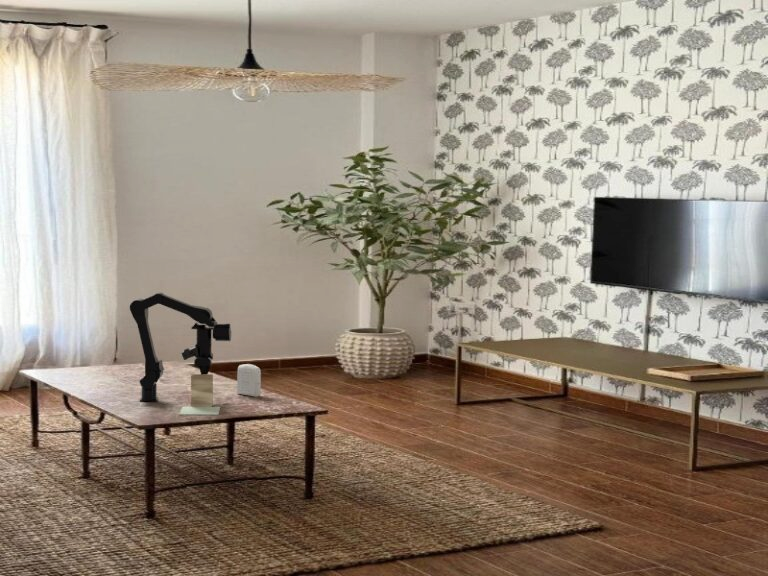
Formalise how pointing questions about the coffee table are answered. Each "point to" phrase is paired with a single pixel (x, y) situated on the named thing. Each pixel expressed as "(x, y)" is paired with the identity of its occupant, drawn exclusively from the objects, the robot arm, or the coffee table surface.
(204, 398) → the birch tile
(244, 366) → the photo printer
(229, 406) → the coffee table surface
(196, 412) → the mat
